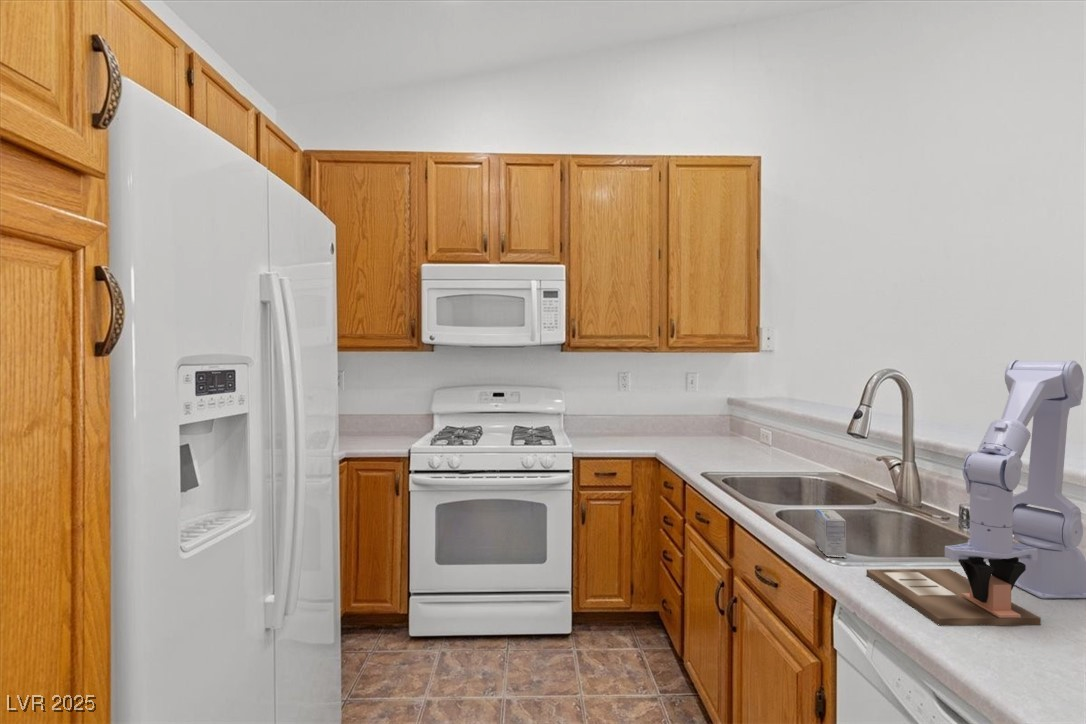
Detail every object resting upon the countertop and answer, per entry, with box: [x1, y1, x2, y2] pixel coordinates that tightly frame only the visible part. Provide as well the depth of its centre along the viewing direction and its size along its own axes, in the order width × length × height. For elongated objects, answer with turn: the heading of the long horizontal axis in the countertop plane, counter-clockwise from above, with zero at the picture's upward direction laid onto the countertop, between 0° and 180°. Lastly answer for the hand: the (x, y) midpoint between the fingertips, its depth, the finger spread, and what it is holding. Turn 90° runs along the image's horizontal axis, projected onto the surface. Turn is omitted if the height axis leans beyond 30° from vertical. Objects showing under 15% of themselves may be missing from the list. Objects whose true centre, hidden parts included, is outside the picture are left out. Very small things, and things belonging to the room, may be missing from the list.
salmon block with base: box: [961, 574, 1021, 618], centre depth 92 cm, size 4×8×5 cm, turn 0°
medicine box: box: [814, 509, 847, 557], centre depth 122 cm, size 8×4×9 cm, turn 168°
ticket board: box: [866, 568, 1042, 626], centre depth 99 cm, size 17×20×2 cm
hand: (990, 599), depth 92 cm, fingers closed on salmon block with base, 3 cm apart
